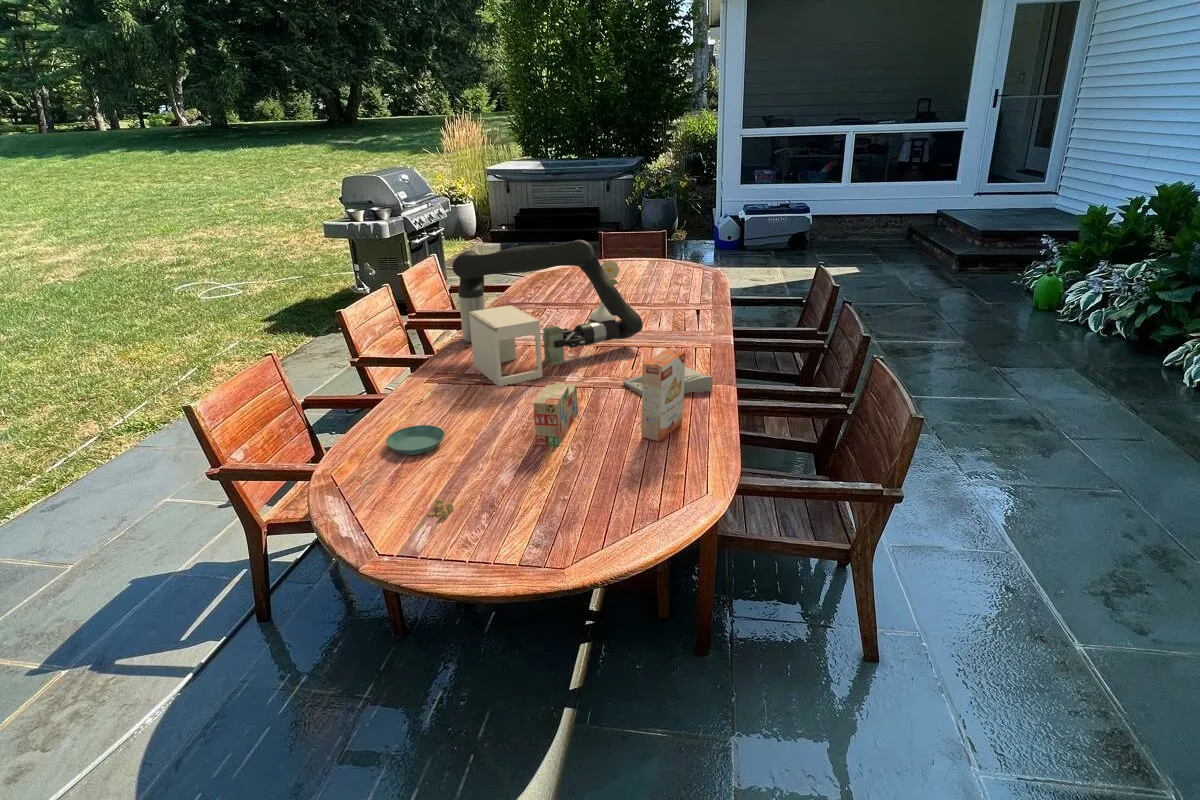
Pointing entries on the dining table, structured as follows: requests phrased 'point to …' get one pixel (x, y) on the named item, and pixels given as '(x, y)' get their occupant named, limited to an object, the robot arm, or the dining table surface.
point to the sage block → (550, 352)
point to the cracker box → (662, 394)
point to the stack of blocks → (555, 413)
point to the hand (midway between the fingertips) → (548, 341)
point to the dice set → (440, 508)
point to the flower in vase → (601, 311)
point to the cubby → (502, 341)
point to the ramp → (691, 382)
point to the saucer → (415, 439)
